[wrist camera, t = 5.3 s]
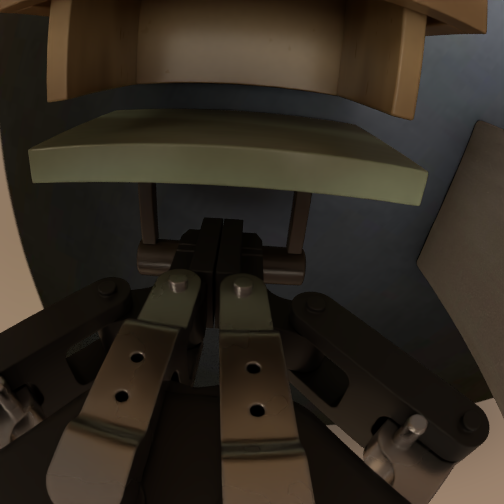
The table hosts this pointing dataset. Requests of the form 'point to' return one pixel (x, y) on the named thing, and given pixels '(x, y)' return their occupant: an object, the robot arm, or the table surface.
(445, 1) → the cabinet
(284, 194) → the table surface
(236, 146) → the drawer
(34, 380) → the robot arm
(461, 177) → the planter
